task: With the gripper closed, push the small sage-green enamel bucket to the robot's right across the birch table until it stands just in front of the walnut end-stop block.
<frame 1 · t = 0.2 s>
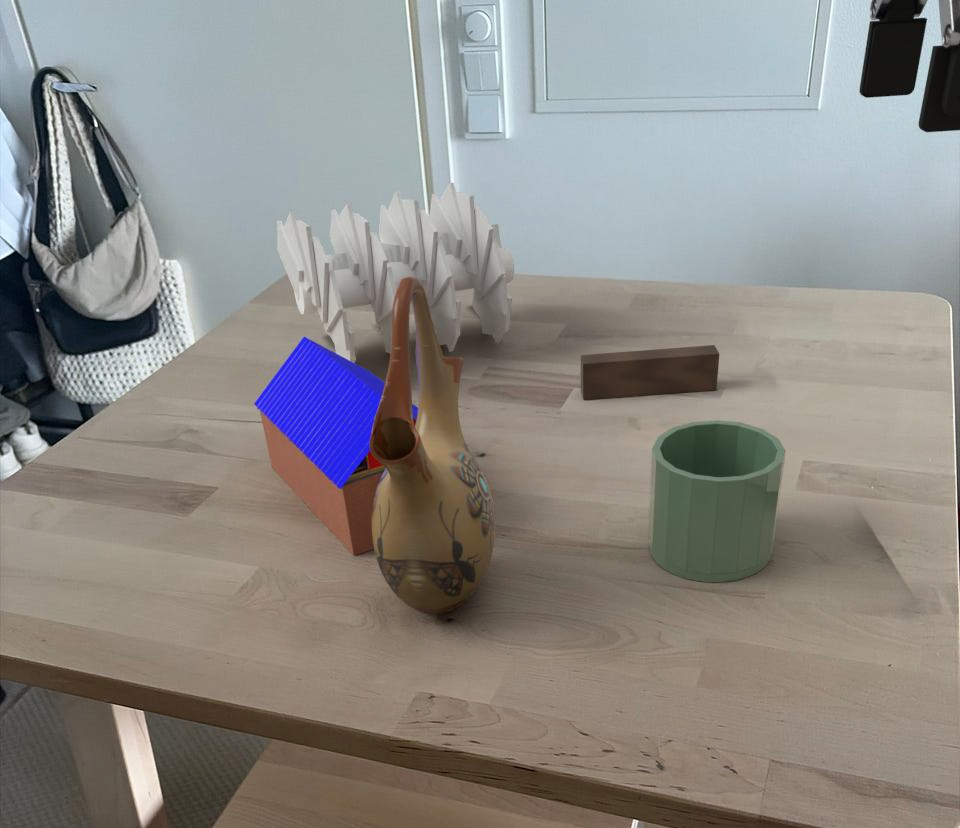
hand: (915, 111, 59), 33 cm above the table, tool pointing down, fingers open, 9 cm apart
bucket: (709, 548, 84), on the table
house: (366, 491, 96), on the table
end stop: (648, 390, 109), on the table
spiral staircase: (414, 354, 121), on the table
ceramic vessel: (442, 597, 81), on the table
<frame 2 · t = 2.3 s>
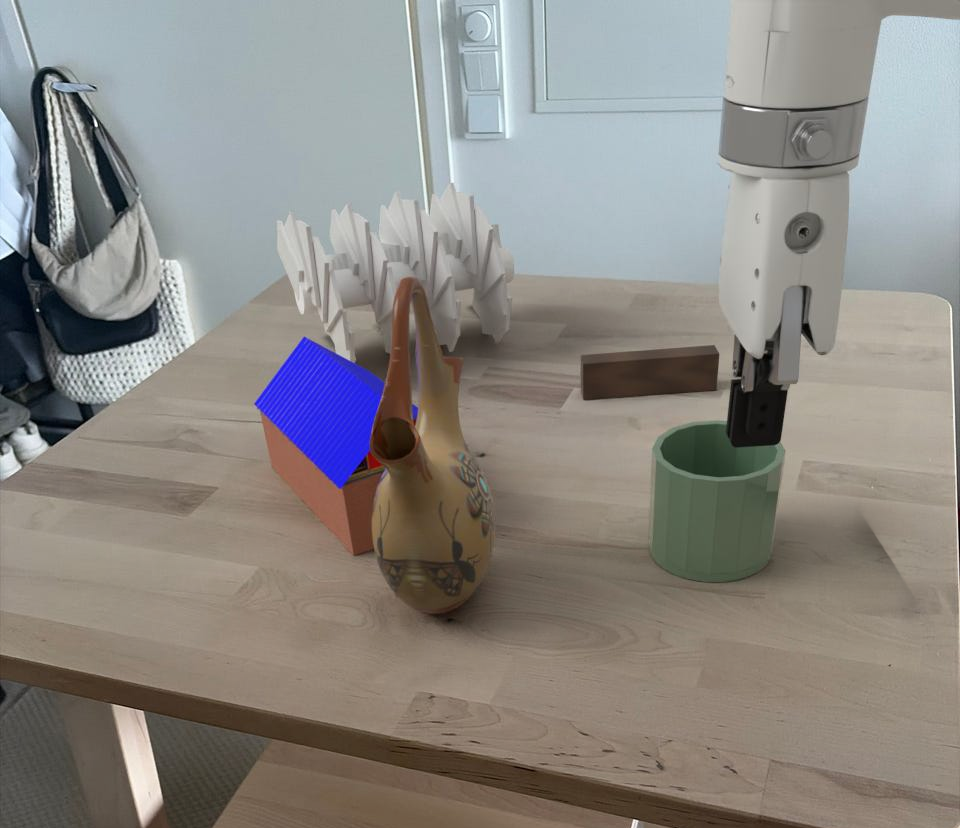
hand: (752, 440, 67), 15 cm above the table, tool pointing down, fingers closed
nothing on the table moved.
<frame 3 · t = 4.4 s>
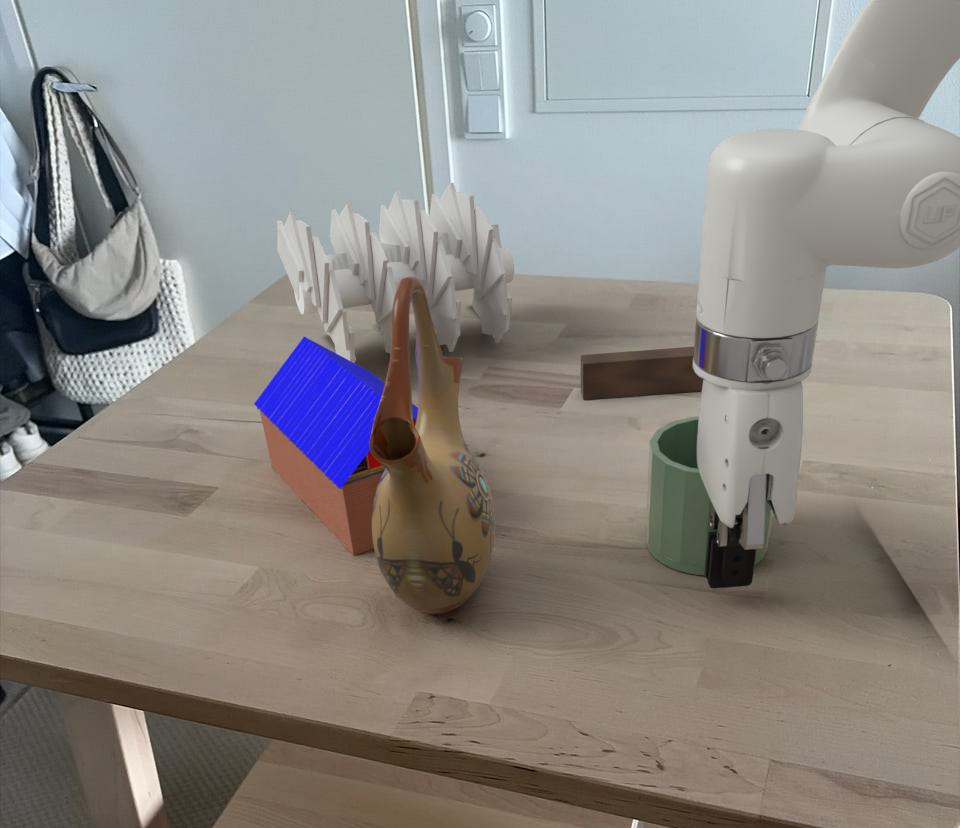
hand: (727, 580, 77), 2 cm above the table, tool pointing down, fingers closed
bucket: (706, 542, 85), on the table, touching gripper
everything else where it was.
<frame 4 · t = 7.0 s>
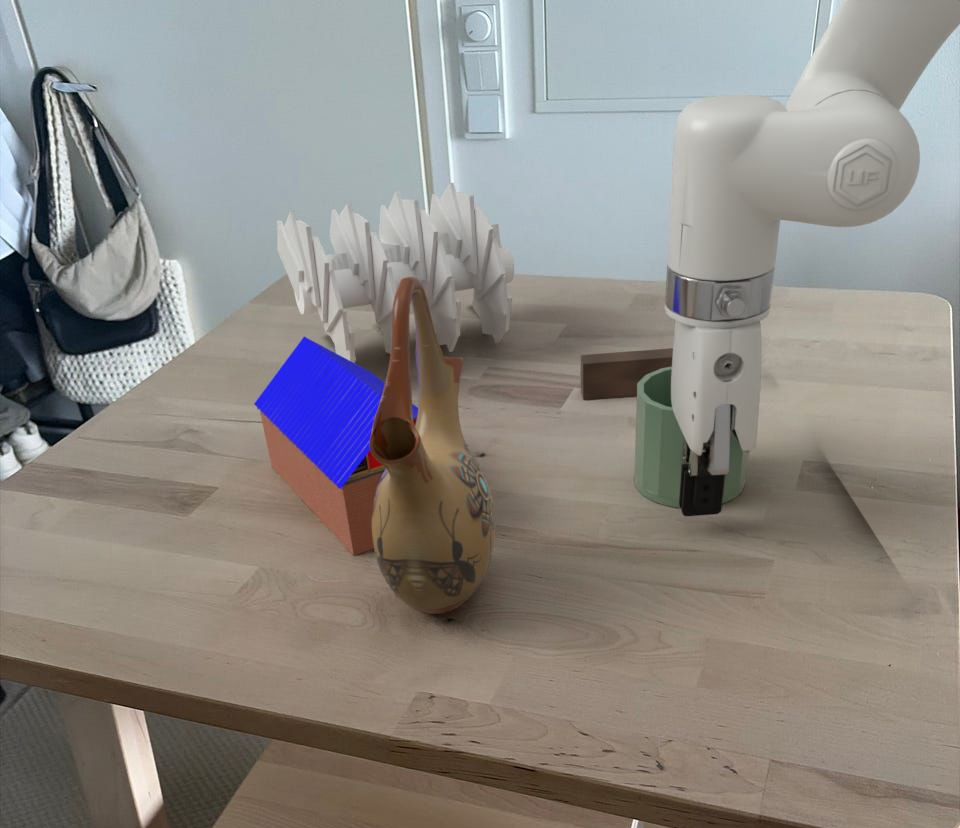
hand: (699, 509, 85), 2 cm above the table, tool pointing down, fingers closed
bucket: (689, 480, 93), on the table, touching gripper
everything else where it was.
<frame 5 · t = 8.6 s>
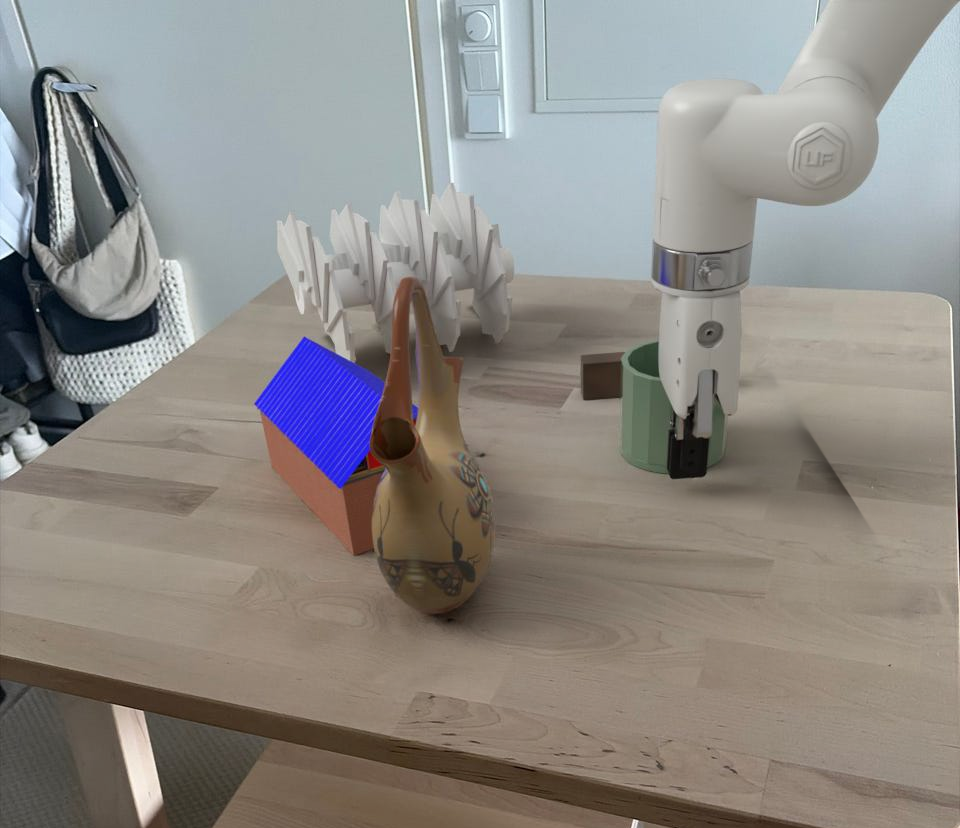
hand: (686, 473, 90), 2 cm above the table, tool pointing down, fingers closed
bucket: (671, 448, 98), on the table, touching gripper
everything else where it was.
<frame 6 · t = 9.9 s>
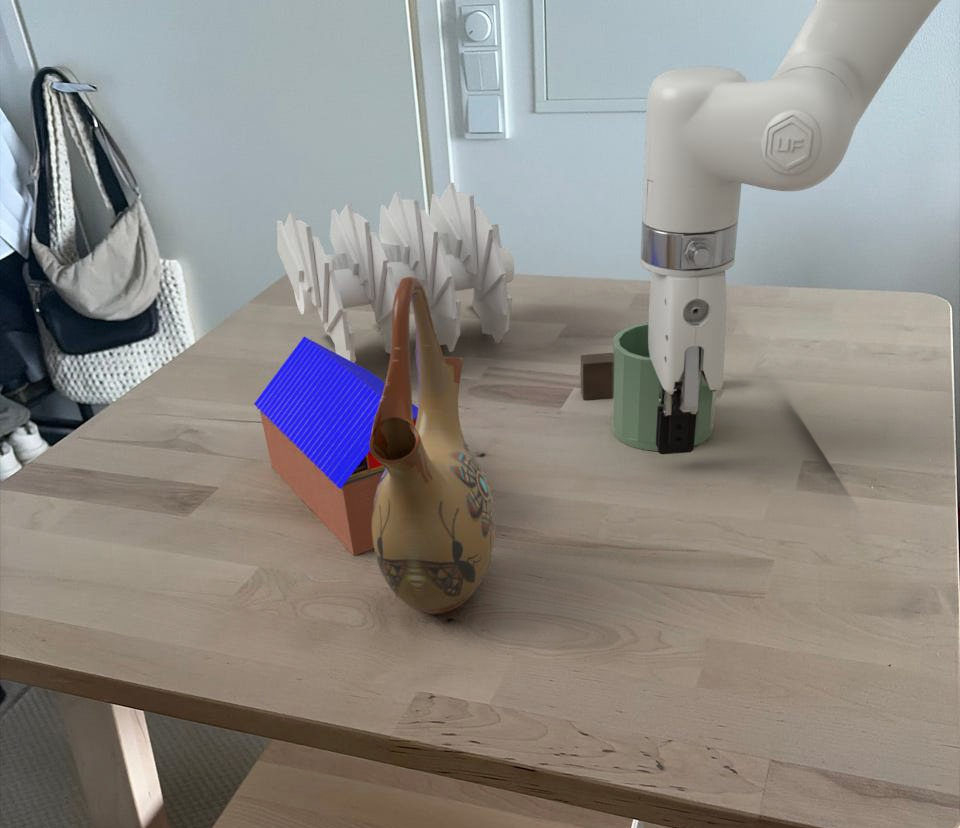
hand: (674, 448, 94), 2 cm above the table, tool pointing down, fingers closed
bucket: (661, 428, 102), on the table, touching gripper
everything else where it was.
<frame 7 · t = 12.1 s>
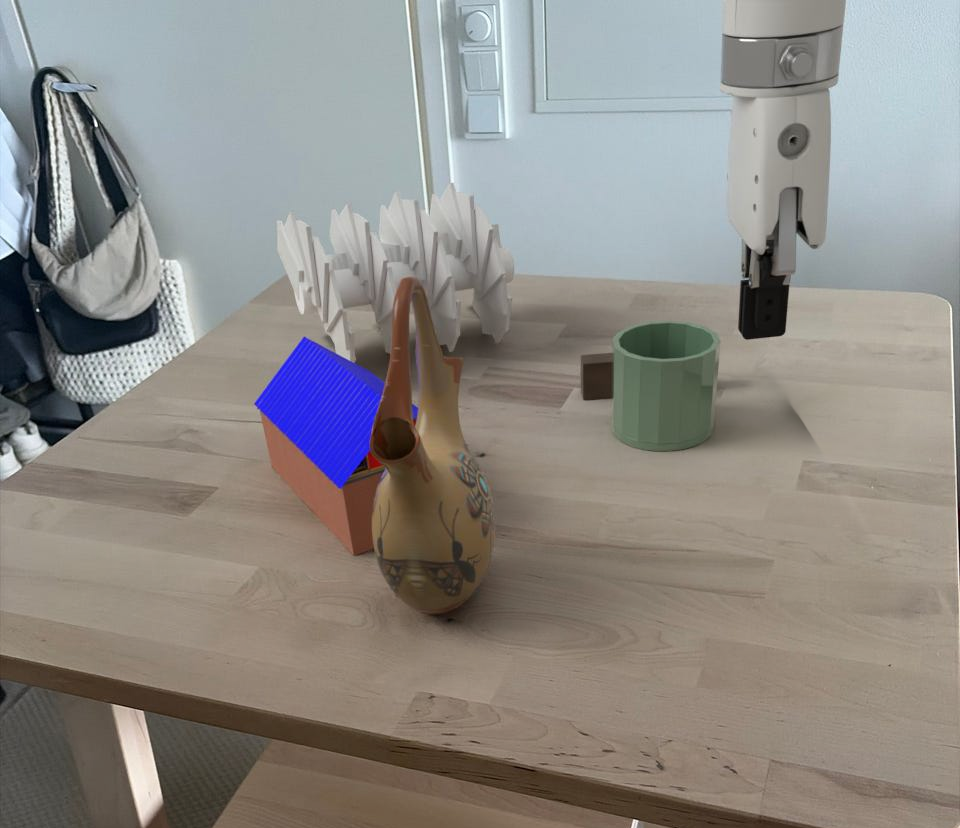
hand: (761, 333, 78), 16 cm above the table, tool pointing down, fingers closed
bucket: (661, 428, 102), on the table
everything else where it was.
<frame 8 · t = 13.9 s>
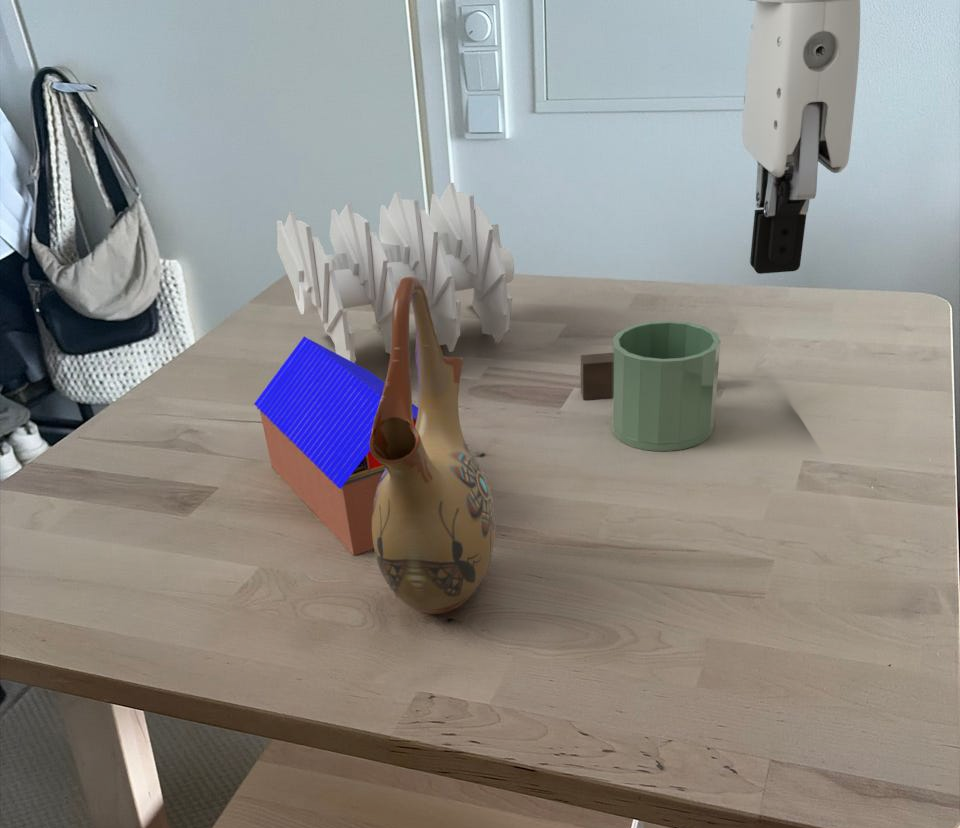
hand: (774, 268, 74), 21 cm above the table, tool pointing down, fingers closed
nothing on the table moved.
at the end: bucket inside the target area on the table beside the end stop (0.2 cm from its centre), on the table; bucket tilted 0°; bucket moved 22.1 cm from its start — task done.
